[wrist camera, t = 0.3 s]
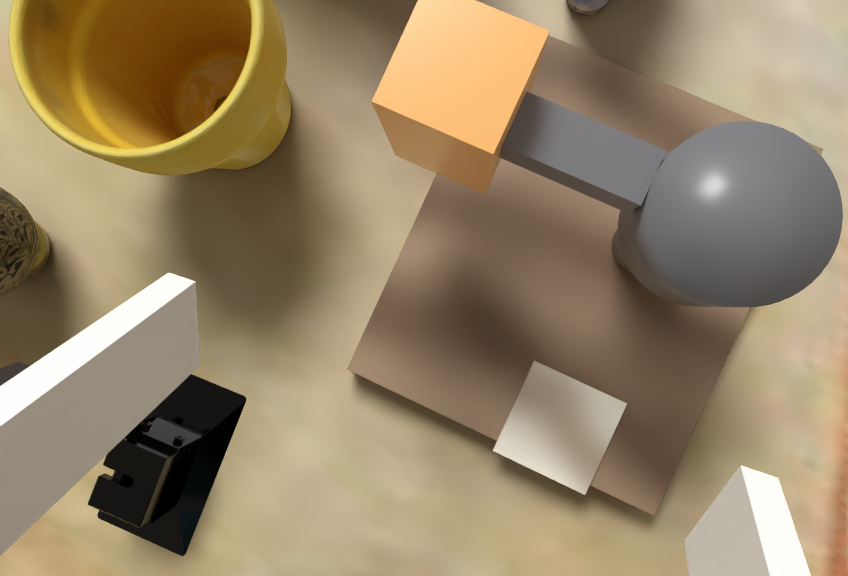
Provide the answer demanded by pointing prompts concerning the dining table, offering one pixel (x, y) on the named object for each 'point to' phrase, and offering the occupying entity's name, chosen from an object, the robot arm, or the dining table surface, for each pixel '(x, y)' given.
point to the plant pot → (156, 79)
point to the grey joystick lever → (613, 162)
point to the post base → (554, 307)
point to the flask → (587, 6)
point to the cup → (19, 243)
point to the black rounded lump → (169, 464)
